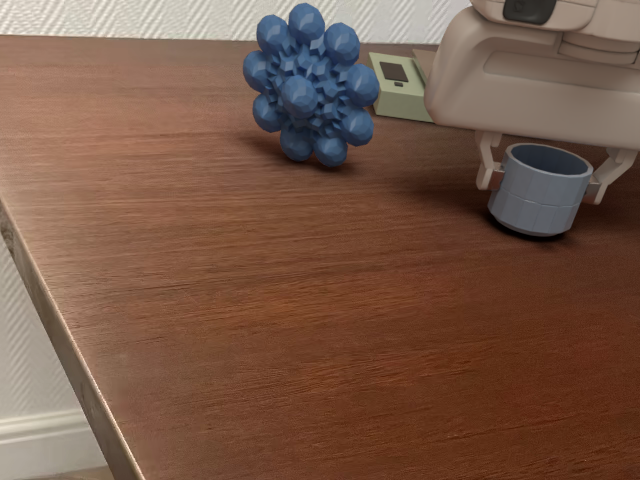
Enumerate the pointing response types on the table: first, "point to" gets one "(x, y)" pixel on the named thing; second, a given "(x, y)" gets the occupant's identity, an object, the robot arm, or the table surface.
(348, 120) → the blue knobbed flower
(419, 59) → the scale pan
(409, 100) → the scale
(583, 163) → the cup
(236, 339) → the table surface
